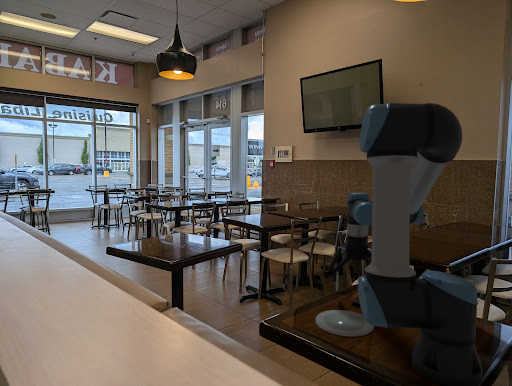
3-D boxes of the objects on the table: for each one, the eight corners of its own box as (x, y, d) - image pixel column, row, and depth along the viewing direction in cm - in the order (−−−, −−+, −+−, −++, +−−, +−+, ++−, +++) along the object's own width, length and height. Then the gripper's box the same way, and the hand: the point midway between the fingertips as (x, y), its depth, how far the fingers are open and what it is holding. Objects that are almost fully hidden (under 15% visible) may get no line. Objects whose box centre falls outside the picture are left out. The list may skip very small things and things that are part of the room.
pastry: (359, 306, 124) (360, 295, 124) (345, 300, 130) (346, 290, 130) (377, 302, 129) (378, 292, 129) (363, 297, 135) (364, 287, 135)
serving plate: (377, 339, 101) (377, 337, 101) (314, 333, 105) (314, 331, 105) (370, 314, 119) (370, 312, 119) (316, 309, 123) (316, 307, 123)
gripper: (391, 234, 130) (389, 289, 132) (322, 231, 135) (321, 285, 137) (395, 238, 123) (393, 297, 125) (322, 235, 128) (321, 292, 130)
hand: (355, 291), depth 131 cm, fingers open, 13 cm apart
